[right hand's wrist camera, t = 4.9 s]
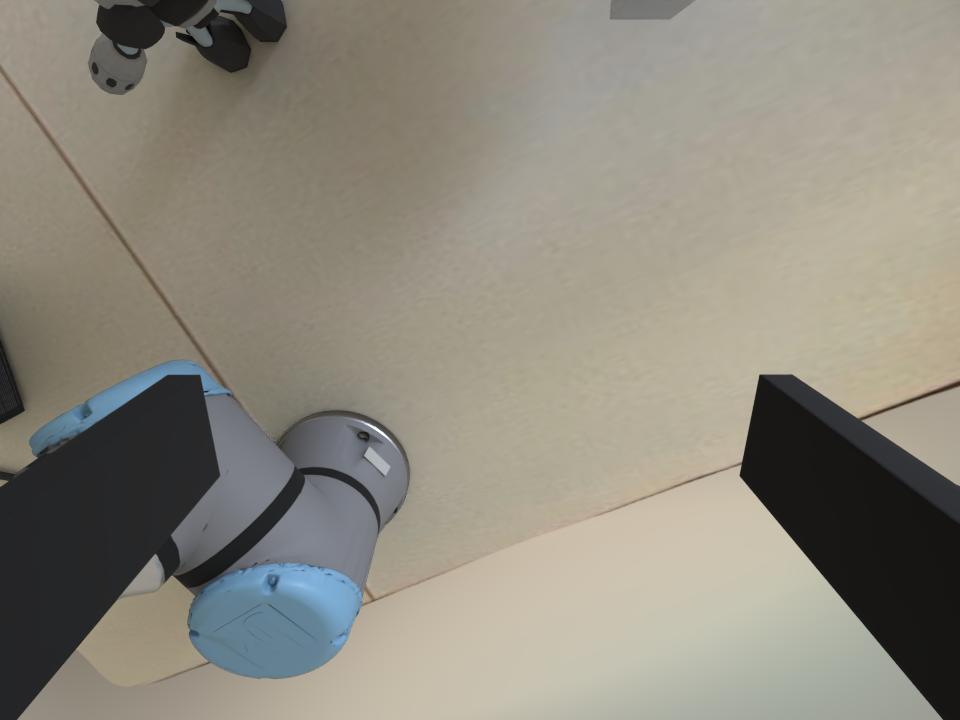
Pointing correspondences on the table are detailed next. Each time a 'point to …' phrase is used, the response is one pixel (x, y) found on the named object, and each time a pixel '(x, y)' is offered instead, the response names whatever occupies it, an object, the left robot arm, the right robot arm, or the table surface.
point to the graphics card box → (8, 391)
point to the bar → (647, 8)
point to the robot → (177, 34)
